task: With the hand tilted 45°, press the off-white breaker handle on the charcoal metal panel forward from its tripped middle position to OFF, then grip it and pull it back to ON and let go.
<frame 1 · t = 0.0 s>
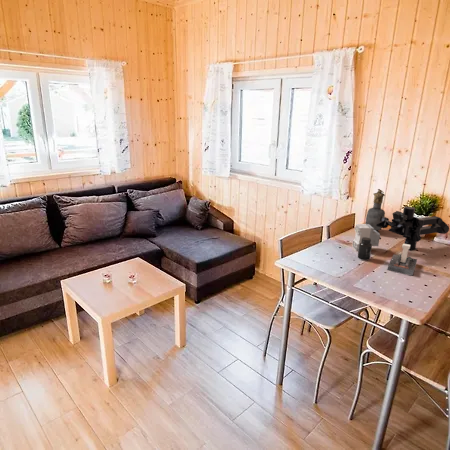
hand: (382, 227, 200), 17 cm above the table, tool horizontal, fingers open, 9 cm apart
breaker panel: (402, 267, 189), on the table
breaker handle: (404, 253, 186), point 8 cm above the table, slide at 2.5 cm
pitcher: (373, 231, 244), on the table
supplement bottle: (363, 258, 199), on the table
circuit breaker: (365, 249, 212), on the table
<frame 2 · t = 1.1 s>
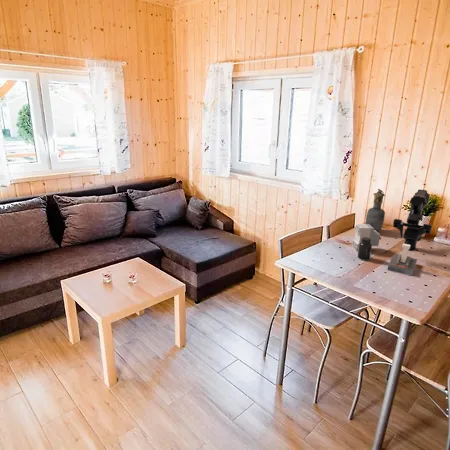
hand: (408, 239, 191), 14 cm above the table, tool tilted 45°, fingers open, 7 cm apart
nothing on the table moved.
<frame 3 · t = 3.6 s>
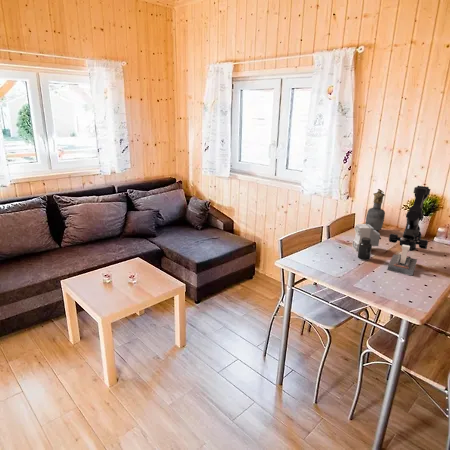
hand: (404, 254, 186), 7 cm above the table, tool tilted 45°, fingers closed, pressing on breaker handle
breaker handle: (404, 254, 185), point 8 cm above the table, slide at 4.2 cm, touching gripper
everything else where it was.
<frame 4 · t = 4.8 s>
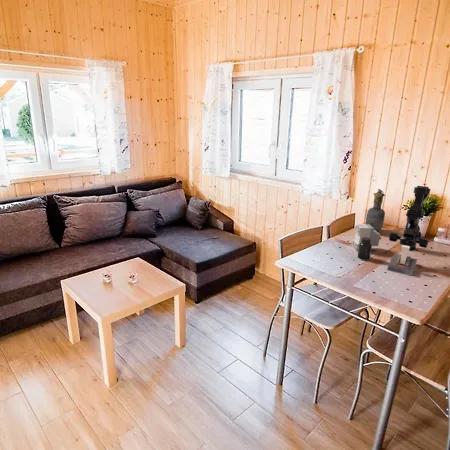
hand: (404, 253, 186), 8 cm above the table, tool tilted 45°, fingers closed
breaker handle: (404, 254, 184), point 8 cm above the table, slide at 5.0 cm
everything else where it was.
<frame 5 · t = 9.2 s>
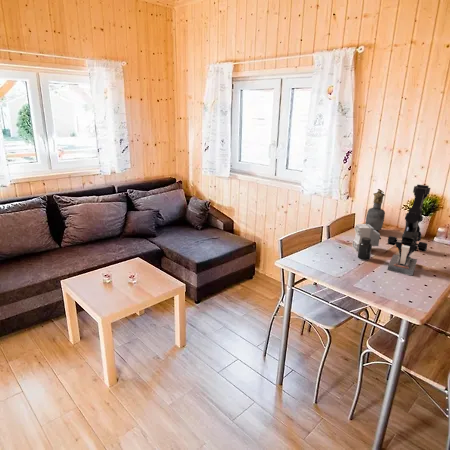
hand: (403, 257, 183), 7 cm above the table, tool tilted 45°, fingers closed on breaker handle, 3 cm apart
breaker handle: (404, 254, 184), point 8 cm above the table, slide at 5.0 cm, touching gripper
everything else where it was.
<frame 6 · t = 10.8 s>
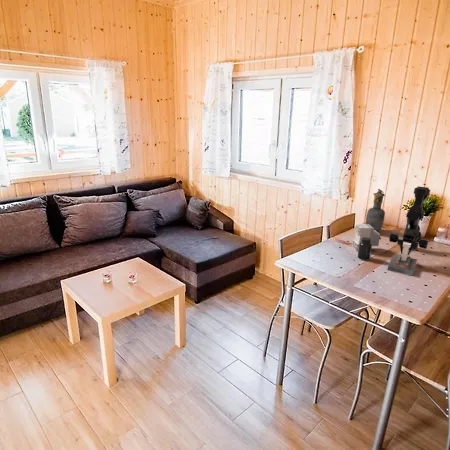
hand: (404, 254, 187), 7 cm above the table, tool tilted 45°, fingers closed on breaker handle, 3 cm apart
breaker handle: (405, 251, 188), point 8 cm above the table, slide at -0.1 cm, touching gripper
everything else where it was.
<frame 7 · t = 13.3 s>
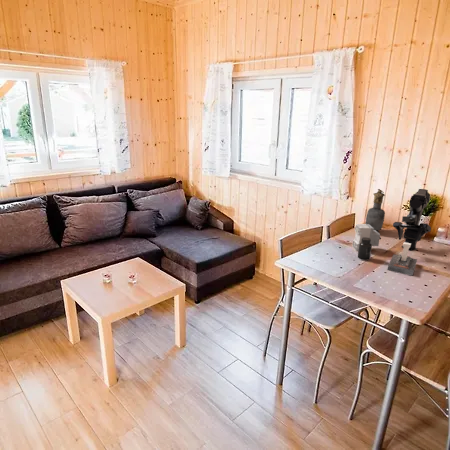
hand: (407, 240, 194), 12 cm above the table, tool tilted 35°, fingers open, 9 cm apart
breaker handle: (405, 251, 188), point 8 cm above the table, slide at 0.0 cm
everything else where it was.
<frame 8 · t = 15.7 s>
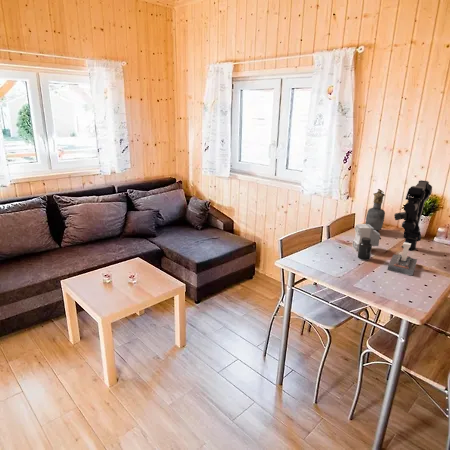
hand: (407, 235, 198), 13 cm above the table, tool pointing down, fingers open, 9 cm apart
nothing on the table moved.
at the end: breaker handle slide at 0.0 cm; the gripper is holding nothing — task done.
